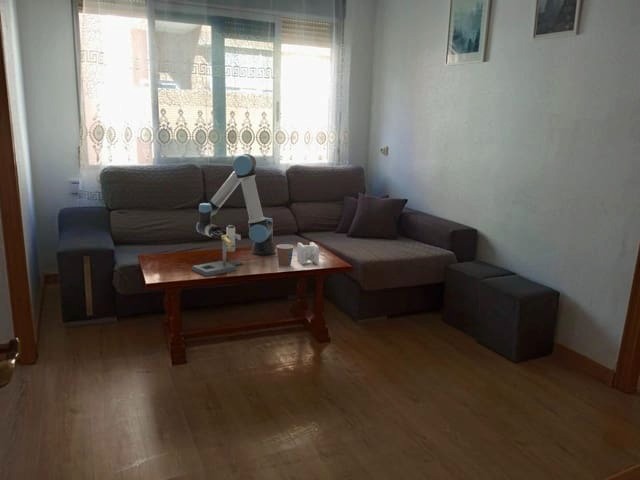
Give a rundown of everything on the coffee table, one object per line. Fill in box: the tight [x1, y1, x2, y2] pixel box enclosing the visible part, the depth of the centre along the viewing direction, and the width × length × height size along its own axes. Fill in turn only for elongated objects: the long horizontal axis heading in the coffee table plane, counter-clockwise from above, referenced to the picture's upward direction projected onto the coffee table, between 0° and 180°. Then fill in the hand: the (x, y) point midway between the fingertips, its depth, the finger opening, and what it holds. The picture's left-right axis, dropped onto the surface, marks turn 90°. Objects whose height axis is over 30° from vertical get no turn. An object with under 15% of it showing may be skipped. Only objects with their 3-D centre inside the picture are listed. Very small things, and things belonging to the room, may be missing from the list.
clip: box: [220, 235, 231, 248], centre depth 285 cm, size 16×3×4 cm, turn 22°
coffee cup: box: [275, 243, 295, 268], centre depth 302 cm, size 10×10×12 cm
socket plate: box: [191, 240, 237, 277], centre depth 287 cm, size 19×15×17 cm
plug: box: [226, 224, 236, 253], centre depth 300 cm, size 6×6×15 cm
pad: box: [226, 260, 244, 267], centre depth 303 cm, size 8×8×1 cm
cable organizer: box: [296, 241, 320, 266], centre depth 311 cm, size 15×11×12 cm
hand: (236, 238), depth 296 cm, fingers closed on plug, 5 cm apart
